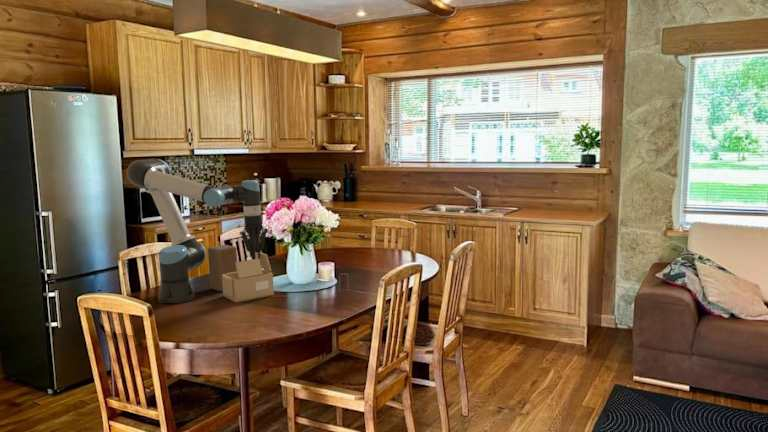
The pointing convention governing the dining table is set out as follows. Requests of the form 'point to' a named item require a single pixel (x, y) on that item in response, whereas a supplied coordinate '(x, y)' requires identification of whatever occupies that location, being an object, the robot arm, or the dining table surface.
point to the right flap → (264, 262)
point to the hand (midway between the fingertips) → (256, 266)
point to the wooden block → (221, 264)
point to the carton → (247, 286)
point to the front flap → (249, 268)
